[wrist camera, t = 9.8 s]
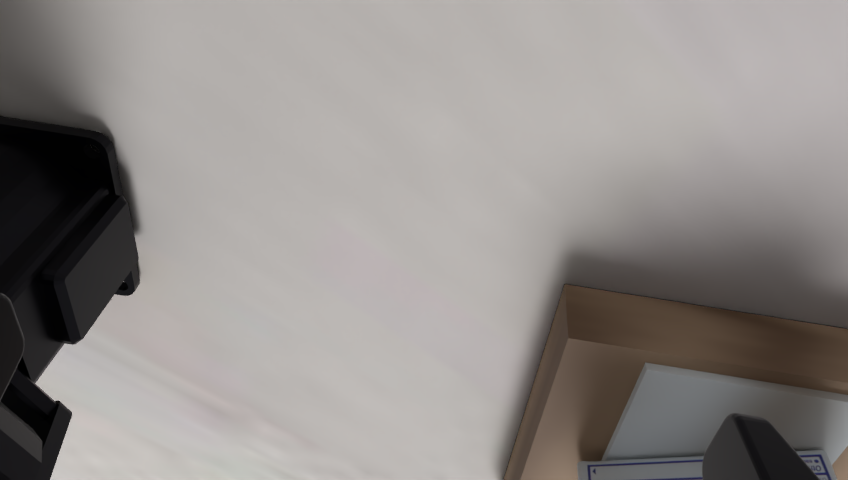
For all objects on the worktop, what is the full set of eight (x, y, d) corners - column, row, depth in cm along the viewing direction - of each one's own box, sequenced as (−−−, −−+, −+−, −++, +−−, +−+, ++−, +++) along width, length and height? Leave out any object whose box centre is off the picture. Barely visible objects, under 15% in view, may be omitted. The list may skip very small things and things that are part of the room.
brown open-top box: (501, 487, 30) (499, 548, 28) (564, 284, 23) (568, 345, 21) (775, 533, 30) (794, 598, 28) (928, 342, 23) (972, 410, 20)
